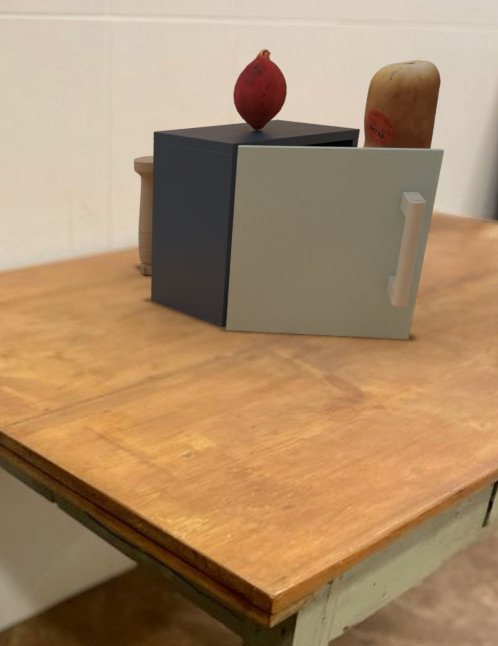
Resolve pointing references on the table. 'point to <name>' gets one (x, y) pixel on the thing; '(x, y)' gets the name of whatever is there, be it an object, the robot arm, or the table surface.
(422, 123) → the butternut squash
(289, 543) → the table surface
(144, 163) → the handle
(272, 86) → the onion
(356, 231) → the door
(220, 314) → the cupboard
